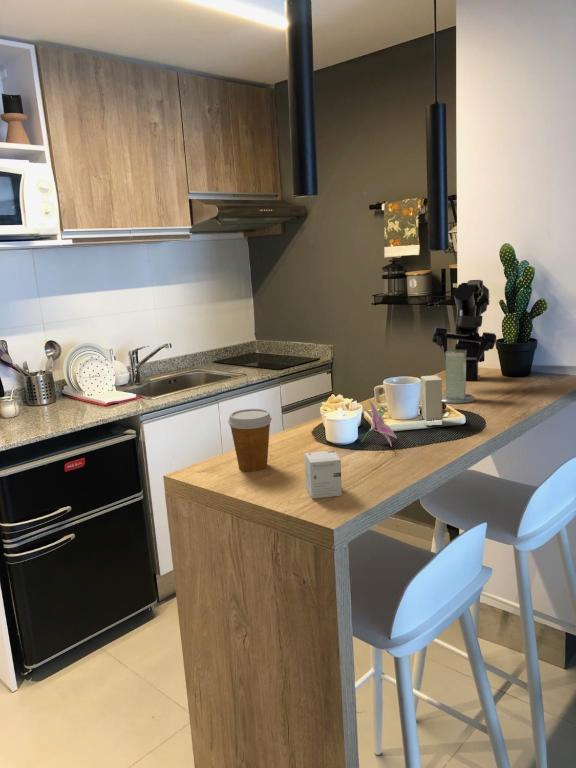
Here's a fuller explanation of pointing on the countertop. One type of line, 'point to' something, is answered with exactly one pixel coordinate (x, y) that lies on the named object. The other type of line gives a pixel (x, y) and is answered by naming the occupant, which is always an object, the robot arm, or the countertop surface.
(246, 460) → the disposable coffee cup
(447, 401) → the slate coaster
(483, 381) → the countertop surface
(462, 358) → the sage tea tin
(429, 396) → the skincare box
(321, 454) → the skincare box
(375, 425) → the lily
